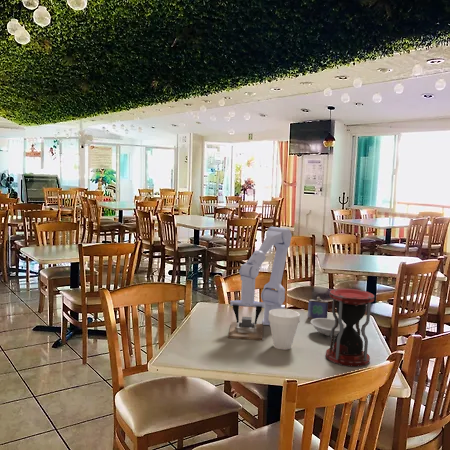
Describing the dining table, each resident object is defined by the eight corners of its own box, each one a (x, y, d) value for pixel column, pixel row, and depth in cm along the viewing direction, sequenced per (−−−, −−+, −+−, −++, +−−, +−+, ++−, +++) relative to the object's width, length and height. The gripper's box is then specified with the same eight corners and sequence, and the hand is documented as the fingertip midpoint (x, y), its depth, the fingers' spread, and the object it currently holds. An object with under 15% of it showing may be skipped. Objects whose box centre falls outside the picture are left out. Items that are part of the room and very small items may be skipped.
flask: (307, 318, 230) (308, 296, 229) (307, 316, 233) (309, 295, 232) (326, 320, 228) (328, 298, 227) (327, 319, 231) (328, 297, 230)
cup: (273, 353, 182) (275, 318, 181) (262, 342, 194) (264, 309, 193) (303, 351, 186) (305, 316, 184) (290, 340, 198) (292, 308, 196)
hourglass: (316, 357, 180) (321, 291, 178) (340, 347, 191) (344, 286, 189) (355, 370, 169) (360, 301, 166) (377, 359, 180) (382, 294, 178)
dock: (262, 326, 215) (263, 319, 215) (262, 340, 196) (262, 333, 196) (231, 324, 216) (231, 317, 216) (228, 338, 197) (228, 330, 197)
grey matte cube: (251, 328, 208) (251, 317, 207) (250, 331, 204) (251, 319, 203) (242, 327, 208) (242, 316, 208) (241, 330, 204) (241, 319, 204)
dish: (354, 340, 201) (355, 329, 200) (324, 343, 195) (325, 331, 195) (330, 327, 217) (331, 316, 217) (302, 330, 212) (303, 319, 211)
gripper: (230, 293, 201) (229, 324, 202) (265, 295, 200) (263, 326, 201) (231, 289, 208) (230, 319, 209) (265, 291, 207) (263, 321, 208)
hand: (246, 322), depth 206 cm, fingers open, 7 cm apart
